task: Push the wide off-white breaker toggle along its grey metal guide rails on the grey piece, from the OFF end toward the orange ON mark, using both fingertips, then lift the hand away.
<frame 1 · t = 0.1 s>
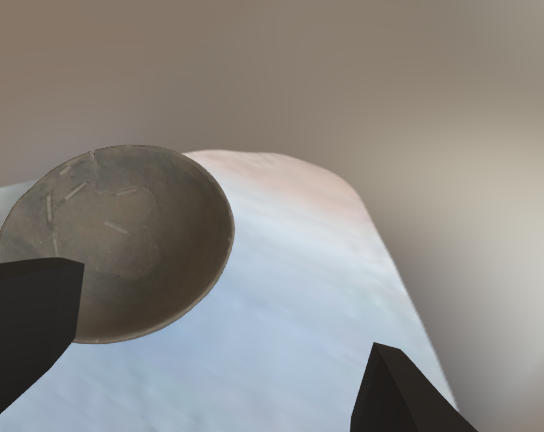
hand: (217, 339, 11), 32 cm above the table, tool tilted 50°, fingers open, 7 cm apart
bowl: (139, 284, 47), on the table
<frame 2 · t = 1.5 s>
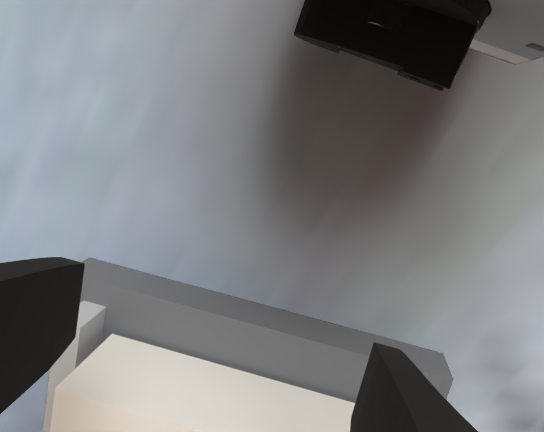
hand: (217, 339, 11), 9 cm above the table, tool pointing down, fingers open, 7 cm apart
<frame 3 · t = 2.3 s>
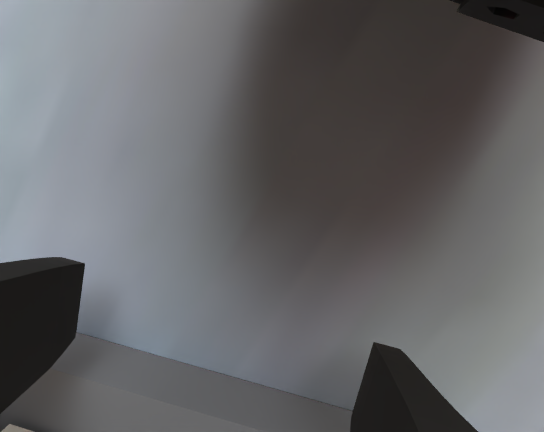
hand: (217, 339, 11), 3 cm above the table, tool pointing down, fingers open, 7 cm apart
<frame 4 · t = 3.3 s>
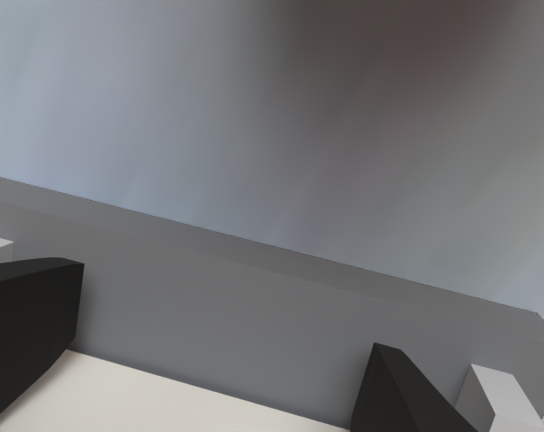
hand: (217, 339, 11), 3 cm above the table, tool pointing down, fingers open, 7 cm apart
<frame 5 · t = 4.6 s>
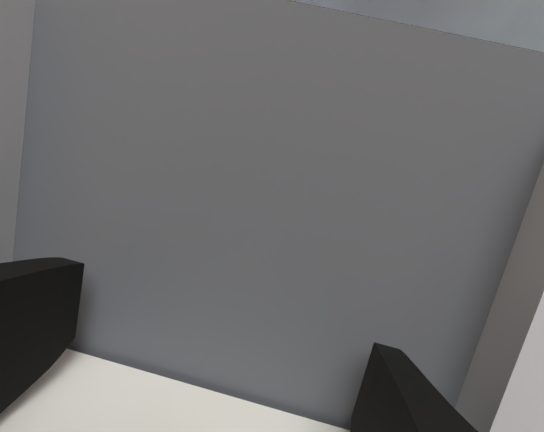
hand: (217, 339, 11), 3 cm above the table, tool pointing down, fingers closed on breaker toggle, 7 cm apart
grey piece: (228, 358, 15), on the table
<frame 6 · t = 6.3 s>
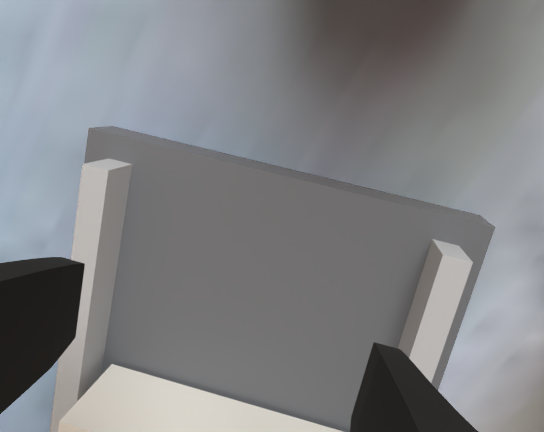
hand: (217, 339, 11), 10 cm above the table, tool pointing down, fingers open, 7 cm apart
grey piece: (242, 374, 23), on the table
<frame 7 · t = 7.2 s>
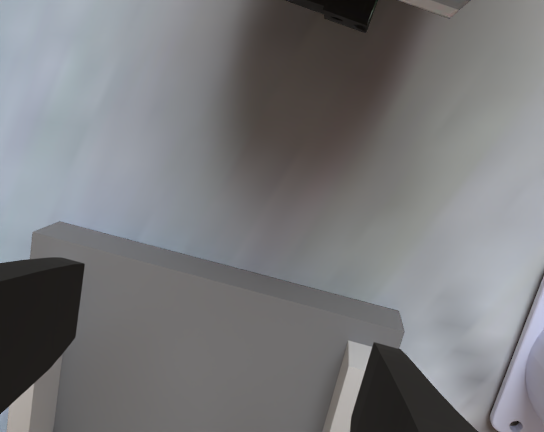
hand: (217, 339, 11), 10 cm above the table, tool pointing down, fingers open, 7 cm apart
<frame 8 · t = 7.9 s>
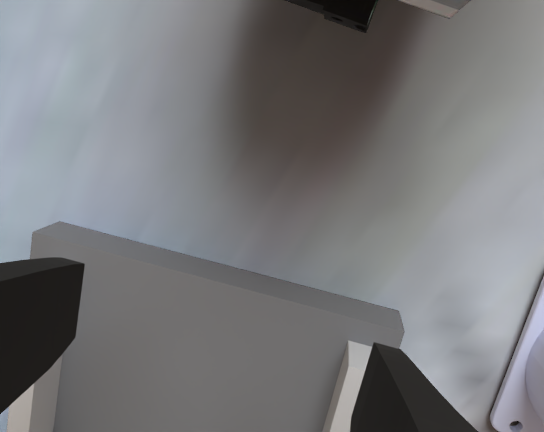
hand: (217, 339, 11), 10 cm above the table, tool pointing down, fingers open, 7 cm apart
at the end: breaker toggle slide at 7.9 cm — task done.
